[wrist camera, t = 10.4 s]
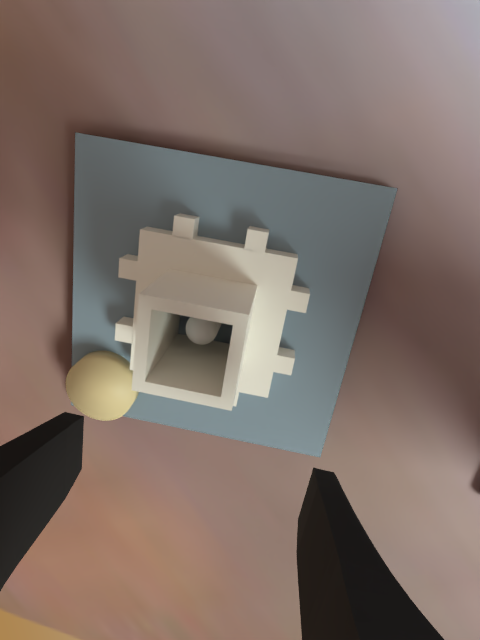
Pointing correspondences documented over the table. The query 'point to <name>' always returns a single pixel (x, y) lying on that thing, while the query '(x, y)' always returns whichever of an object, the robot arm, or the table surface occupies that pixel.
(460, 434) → the table surface
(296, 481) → the table surface
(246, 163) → the carrier plate
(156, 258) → the gear
